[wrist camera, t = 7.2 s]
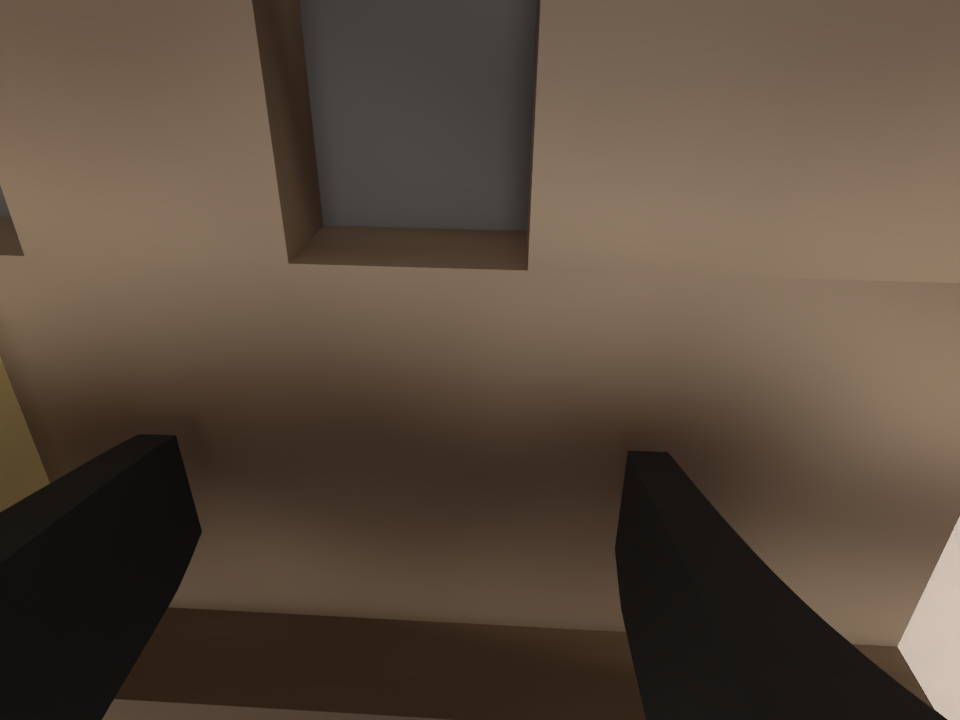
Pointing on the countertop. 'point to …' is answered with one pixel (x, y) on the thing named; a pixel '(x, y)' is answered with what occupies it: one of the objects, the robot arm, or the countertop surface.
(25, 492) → the block
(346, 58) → the trap board
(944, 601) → the countertop surface
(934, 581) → the countertop surface
